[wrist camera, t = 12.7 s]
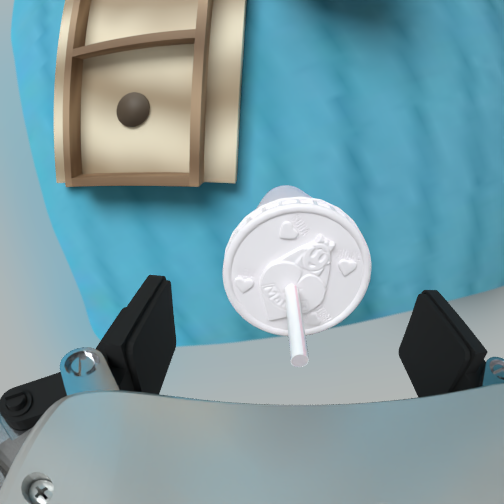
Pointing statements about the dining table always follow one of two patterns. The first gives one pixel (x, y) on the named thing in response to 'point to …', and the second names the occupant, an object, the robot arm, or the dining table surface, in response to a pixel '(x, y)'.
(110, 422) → the robot arm
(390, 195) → the dining table surface
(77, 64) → the board
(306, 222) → the smoothie
